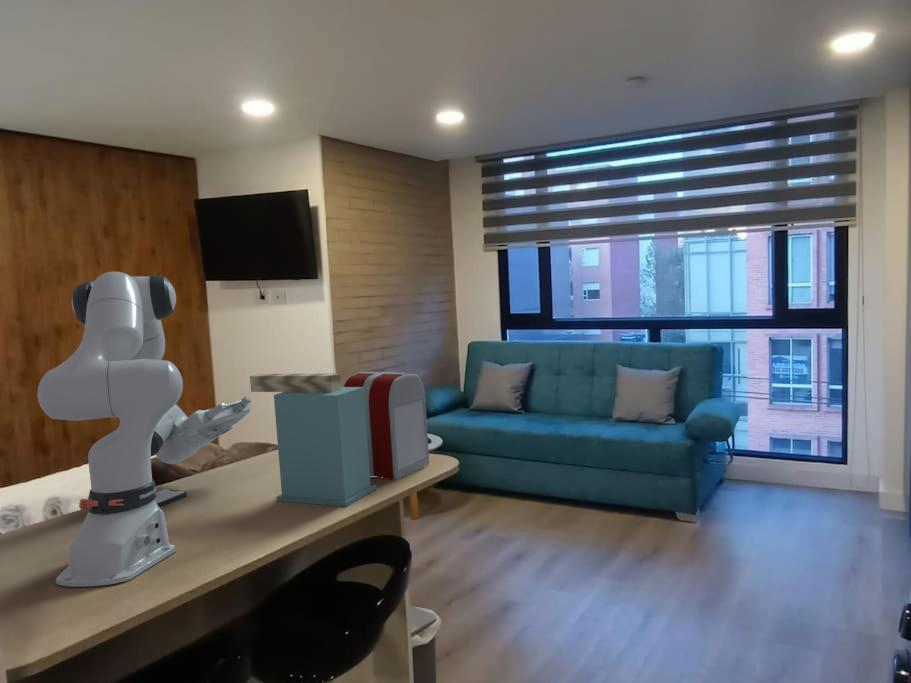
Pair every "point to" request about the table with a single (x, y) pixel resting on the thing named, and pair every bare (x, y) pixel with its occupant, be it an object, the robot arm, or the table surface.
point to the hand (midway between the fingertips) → (236, 402)
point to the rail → (295, 383)
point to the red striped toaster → (394, 422)
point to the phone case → (169, 496)
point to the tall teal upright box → (323, 446)
